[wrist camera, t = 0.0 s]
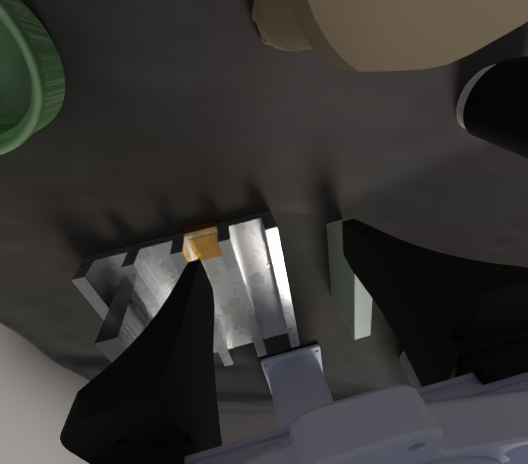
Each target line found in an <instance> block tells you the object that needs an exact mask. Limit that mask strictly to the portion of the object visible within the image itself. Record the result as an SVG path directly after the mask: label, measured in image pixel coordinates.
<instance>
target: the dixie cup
mask: <svg viewBox="0 0 528 464" xmlns="http://www.w3.org/2000/svg"><path fill="white" fill-rule="evenodd" d="M456 117H457V121H458V123H459V124H460V125H461V126H462V127H463V128H465V129H466V130H467V131H468V132H469V133H470V134H472V135H473V136H476V137H478V138H481V139H483V140H485V141H488V142H490V143H492V144H495V145H497V146H499V147H502V148H504V149H506V150H509V151H511V152H513V153H516V154H518V155H520V156H523V157H525V158H528V56H527V57H520V58H513V59H508V60H504V61H502V62H500V63H498V64H494V65H490V66H488V67H486V68H484V69H482V70H481V71H479V72H478V73H477V74H475V75H474V76H473V77H472V78H471V79H470V81H469V82H468V83H467V84H466V86H465V87H464V89H463V91H462V92H461V94H460V97H459V99H458V103H457V107H456Z"/></svg>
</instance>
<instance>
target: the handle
mask: <svg viewBox="0 0 528 464" xmlns="http://www.w3.org/2000/svg"><path fill="white" fill-rule="evenodd" d="M252 20H253V21H254V22H255V23H256V25H257V28H258V30H259V32H260V39H261V41H262V42H263V43H264V44H266V45H271V46H273V47H275V48H277V49H280V50H284V51H302V50H310V49H314V50H315V51H316V52H317V53H318V54H319V55H320V56H321V57H322V58H323V59H324V60H325V61H326V62H327V63H329V64H330V65H331V66H333V67H334V68H336V69H337V70H339V71H350V72H373V71H403V70H419V69H428V68H433V67H437V66H442V65H447V64H450V63H452V62H454V61H456V60H459V59H461V58H463V57H465V56H467V55H470V54H472V53H474V52H475V51H477V50H479V49H481V48H482V47H484V46H486V45H488V44H489V43H491V42H493V41H495V40H497V39H498V38H500V37H502V36H504V35H505V34H507V33H509V32H511V31H512V30H514V29H516V28H518V27H519V26H521V25H523V24H524V23H526V22H527V21H528V0H254V6H253V8H252Z"/></svg>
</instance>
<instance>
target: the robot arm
mask: <svg viewBox="0 0 528 464" xmlns="http://www.w3.org/2000/svg"><path fill="white" fill-rule="evenodd" d="M342 234H343V255H344V256H345V258H346V260H347V262H348V264H349V266H350V268H351V269H352V271H353V272H354V274H355V275H356V277H357V278H358V279H359V281H360V282H361V283H362V285H363V286H364V288H365V289H366V290H367V292H368V293H369V294H370V296H371V297H372V298H373V300H374V301H375V302H376V304H377V305H378V307H379V308H380V310H381V311H382V313H383V315H384V316H385V318H386V320H387V322H388V323H389V325H390V327H391V328H392V330H393V332H394V334H395V336H396V338H397V339H398V341H399V343H400V345H401V347H402V348H403V350H404V352H405V354H406V356H407V358H408V360H409V362H410V364H411V366H412V368H413V370H414V372H415V374H416V376H417V378H418V380H419V382H420V384H421V386H422V387H421V388H418V389H415V388H413V387H409V386H406V385H402V384H400V385H394V386H387V387H384V388H380V389H377V390H373V391H370V392H367V393H363V394H360V395H356V396H353V397H349V398H346V399H342V400H339V401H336V402H333V399H332V396H331V394H330V391H329V388H328V386H327V383H326V380H325V378H324V375H323V368H322V359H321V351H320V346H319V345H318V344H315V345H311V346H308V347H304V348H301V349H297V350H293V351H290V352H286V353H283V354H279V355H276V356H272V357H268V358H265V359H262V360H261V366H262V369H263V371H264V374H265V377H266V380H267V383H268V385H269V388H270V391H271V394H272V397H273V403H274V408H275V413H276V418H277V424H278V429H277V430H274V431H270V432H267V433H263V434H260V435H257V436H253V437H250V438H246V439H243V440H240V441H236V442H233V443H229V444H226V445H222V441H221V433H220V425H219V415H218V405H217V395H216V384H215V371H214V355H213V346H214V314H215V305H214V295H213V288H212V285H211V283H210V280H209V278H208V276H207V273H206V271H205V269H204V266H203V264H202V261H201V259H197V260H194V261H190V262H188V263H187V265H186V266H185V268H184V270H183V272H182V274H181V275H180V277H179V279H178V281H177V283H176V284H175V286H174V288H173V289H172V291H171V293H170V295H169V296H168V298H167V299H166V301H165V302H164V304H163V305H162V307H161V308H160V310H159V311H158V313H157V314H156V315H155V317H154V318H153V319H152V320H151V322H150V323H149V324H148V325H147V327H146V328H145V329H144V330H143V331H142V332H141V334H140V335H139V336H138V337H137V338H136V339H135V340H134V341H133V342H132V343H131V344H130V346H129V347H128V348H127V349H126V350H125V351H124V352H123V353H122V354H121V355H120V356H119V357H118V358H116V359H115V360H114V361H113V362H112V363H111V364H110V365H109V366H108V367H107V368H106V369H104V370H103V371H102V372H101V373H100V374H99V375H97V376H96V377H95V378H94V379H93V380H91V381H90V382H89V383H88V384H87V385H86V386H84V387H83V388H82V389H81V390H80V391H78V393H77V395H76V398H75V400H74V402H73V405H72V407H71V410H70V413H69V415H68V417H67V420H66V422H65V425H64V427H63V430H62V432H61V436H60V440H61V443H62V445H63V446H64V447H65V448H66V449H68V450H69V451H70V452H72V453H74V454H75V455H77V456H78V457H80V458H81V459H83V460H85V461H86V462H88V463H90V464H528V268H527V267H520V266H511V265H502V264H494V263H487V262H481V261H475V260H470V259H465V258H460V257H456V256H451V255H447V254H443V253H439V252H435V251H432V250H429V249H426V248H422V247H419V246H416V245H413V244H411V243H408V242H405V241H403V240H400V239H398V238H395V237H393V236H391V235H388V234H386V233H384V232H382V231H379V230H377V229H375V228H373V227H371V226H369V225H367V224H365V223H362V222H360V221H358V220H356V219H351V220H347V221H343V222H342Z"/></svg>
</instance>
